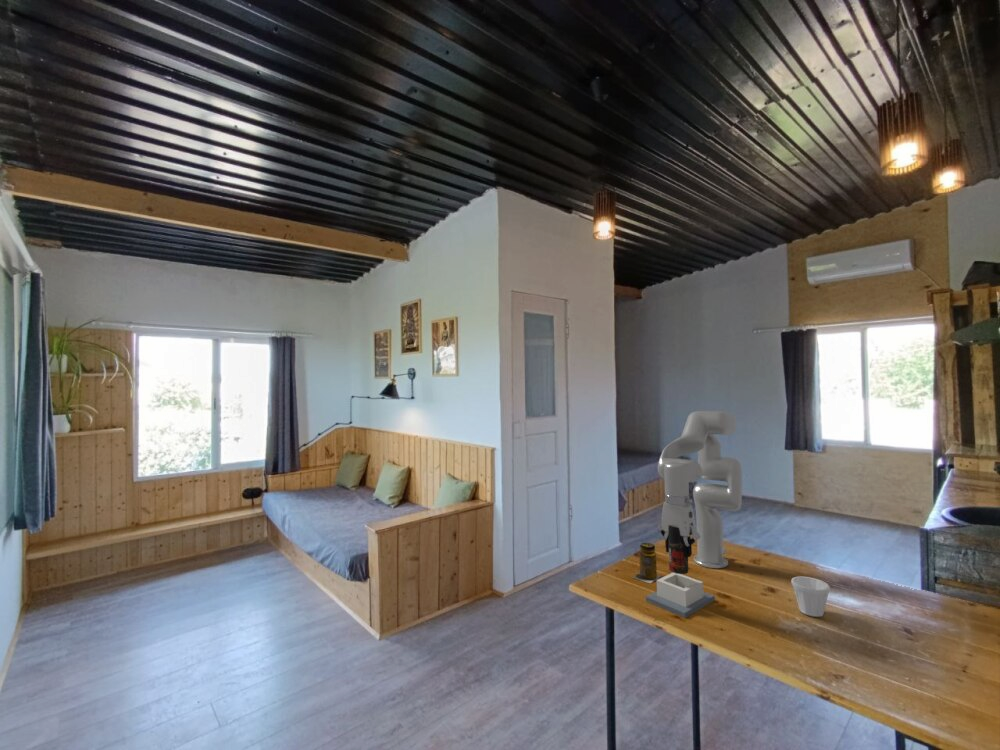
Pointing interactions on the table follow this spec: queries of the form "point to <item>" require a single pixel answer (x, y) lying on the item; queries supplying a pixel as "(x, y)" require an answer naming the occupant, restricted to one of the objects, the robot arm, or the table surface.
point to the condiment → (647, 563)
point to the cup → (810, 595)
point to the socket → (680, 595)
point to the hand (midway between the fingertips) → (678, 553)
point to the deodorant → (676, 552)
